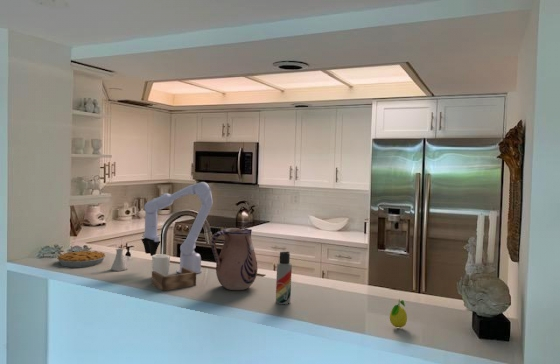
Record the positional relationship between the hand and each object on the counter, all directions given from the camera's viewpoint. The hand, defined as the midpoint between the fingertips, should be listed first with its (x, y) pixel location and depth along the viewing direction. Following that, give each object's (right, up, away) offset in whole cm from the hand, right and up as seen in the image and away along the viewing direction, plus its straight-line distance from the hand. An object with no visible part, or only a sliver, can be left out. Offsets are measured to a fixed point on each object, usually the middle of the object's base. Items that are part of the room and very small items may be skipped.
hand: (150, 254), depth 205 cm
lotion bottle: (+63, -12, -38) cm, 75 cm away
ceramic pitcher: (+42, -11, -22) cm, 48 cm away
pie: (-39, -7, +14) cm, 42 cm away
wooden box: (+16, -10, -20) cm, 27 cm away
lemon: (+101, -15, -61) cm, 119 cm away
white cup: (+7, -9, -9) cm, 15 cm away
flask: (-16, -8, +3) cm, 18 cm away
